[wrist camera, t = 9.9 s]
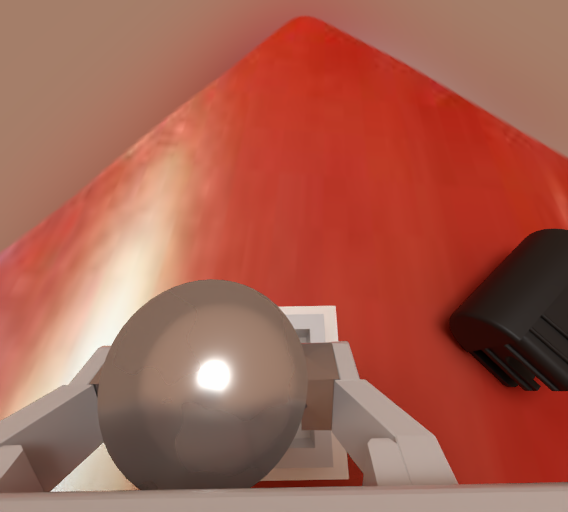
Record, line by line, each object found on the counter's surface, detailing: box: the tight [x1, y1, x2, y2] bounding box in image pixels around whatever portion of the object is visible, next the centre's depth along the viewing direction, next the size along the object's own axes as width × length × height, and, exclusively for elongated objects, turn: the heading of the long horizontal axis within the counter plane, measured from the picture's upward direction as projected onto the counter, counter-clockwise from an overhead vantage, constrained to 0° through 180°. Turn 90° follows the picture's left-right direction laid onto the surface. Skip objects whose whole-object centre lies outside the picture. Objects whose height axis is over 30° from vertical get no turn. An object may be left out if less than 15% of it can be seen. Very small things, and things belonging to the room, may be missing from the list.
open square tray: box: [260, 306, 349, 481], centre depth 23 cm, size 12×12×5 cm
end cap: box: [450, 229, 568, 391], centre depth 24 cm, size 10×7×7 cm
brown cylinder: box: [97, 280, 308, 490], centre depth 11 cm, size 4×4×8 cm
